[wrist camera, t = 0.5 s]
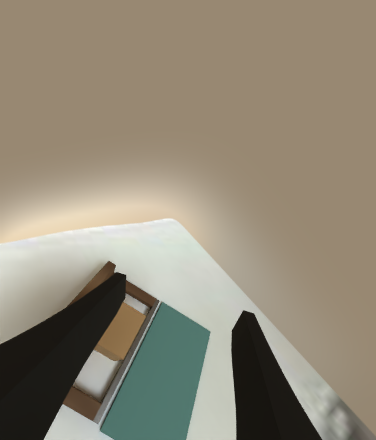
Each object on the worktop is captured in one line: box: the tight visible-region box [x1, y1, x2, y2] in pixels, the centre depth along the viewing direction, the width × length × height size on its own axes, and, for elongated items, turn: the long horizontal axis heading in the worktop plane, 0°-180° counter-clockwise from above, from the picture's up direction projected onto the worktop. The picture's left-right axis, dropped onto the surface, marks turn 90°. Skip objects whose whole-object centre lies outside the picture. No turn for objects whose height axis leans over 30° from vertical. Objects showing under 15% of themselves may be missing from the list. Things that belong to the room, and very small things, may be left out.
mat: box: [100, 302, 210, 440], centre depth 22 cm, size 14×10×1 cm
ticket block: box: [94, 302, 146, 361], centre depth 19 cm, size 4×6×8 cm, turn 67°
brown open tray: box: [63, 261, 159, 424], centre depth 21 cm, size 13×10×4 cm
